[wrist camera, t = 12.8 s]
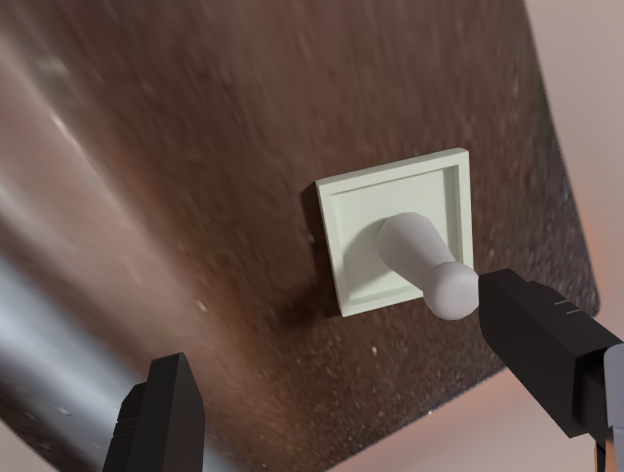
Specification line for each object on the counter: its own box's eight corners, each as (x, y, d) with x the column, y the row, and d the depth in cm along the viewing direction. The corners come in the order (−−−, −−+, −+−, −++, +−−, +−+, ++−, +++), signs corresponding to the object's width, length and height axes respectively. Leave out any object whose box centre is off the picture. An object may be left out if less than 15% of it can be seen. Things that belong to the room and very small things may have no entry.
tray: (314, 180, 42) (318, 186, 40) (459, 147, 43) (468, 151, 41) (338, 307, 47) (342, 317, 46) (465, 275, 49) (473, 283, 47)
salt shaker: (416, 263, 46) (481, 338, 34) (363, 256, 45) (412, 331, 33) (434, 209, 44) (509, 269, 32) (379, 200, 43) (437, 258, 31)
